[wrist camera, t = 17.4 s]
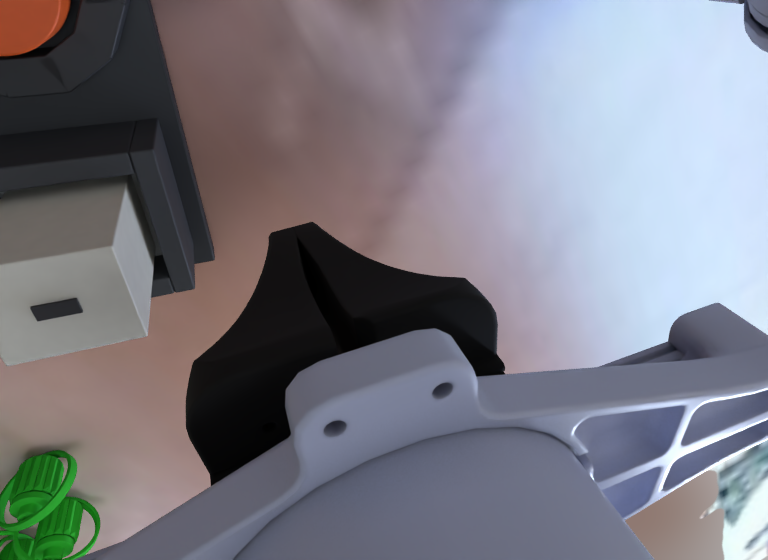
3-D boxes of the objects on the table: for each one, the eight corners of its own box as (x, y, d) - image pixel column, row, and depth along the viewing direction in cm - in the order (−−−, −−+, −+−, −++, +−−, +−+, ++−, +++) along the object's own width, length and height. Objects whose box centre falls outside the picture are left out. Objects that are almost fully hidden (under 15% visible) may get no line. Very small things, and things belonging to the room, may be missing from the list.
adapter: (103, -184, 16) (89, -207, 13) (214, 248, 25) (217, 280, 22) (-214, -195, 13) (-297, -224, 11) (35, 280, 23) (18, 319, 20)
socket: (159, 109, 20) (153, 149, 17) (193, 233, 24) (195, 289, 20) (-21, 129, 19) (-73, 177, 15) (44, 258, 22) (14, 325, 18)
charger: (129, 169, 18) (112, 247, 14) (155, 246, 20) (148, 338, 16) (8, 185, 17) (-56, 276, 13) (48, 265, 19) (5, 369, 15)
